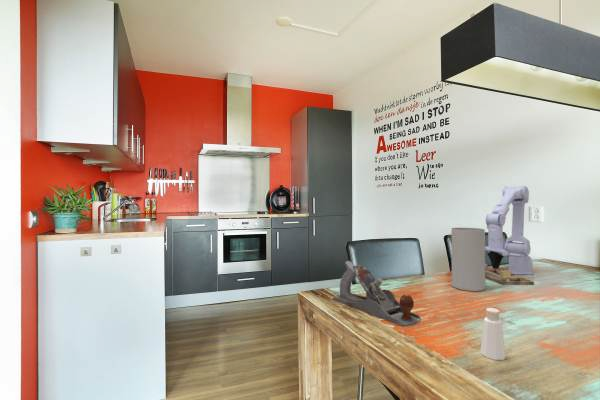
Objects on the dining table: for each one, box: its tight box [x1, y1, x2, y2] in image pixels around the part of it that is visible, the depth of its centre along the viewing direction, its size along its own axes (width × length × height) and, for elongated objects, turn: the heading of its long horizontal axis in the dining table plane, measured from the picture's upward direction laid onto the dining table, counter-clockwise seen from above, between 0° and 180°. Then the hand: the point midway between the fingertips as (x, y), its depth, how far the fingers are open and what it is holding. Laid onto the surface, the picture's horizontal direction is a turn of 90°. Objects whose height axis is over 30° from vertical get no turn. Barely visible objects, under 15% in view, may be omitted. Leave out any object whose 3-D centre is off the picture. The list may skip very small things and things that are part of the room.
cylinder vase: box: [451, 227, 486, 292], centre depth 135 cm, size 12×12×25 cm
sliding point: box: [499, 269, 524, 280], centre depth 141 cm, size 9×2×4 cm, turn 90°
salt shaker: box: [479, 307, 507, 361], centre depth 77 cm, size 5×5×11 cm
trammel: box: [485, 263, 509, 282], centre depth 150 cm, size 9×21×4 cm, turn 0°
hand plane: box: [332, 260, 422, 328], centre depth 109 cm, size 9×33×15 cm, turn 35°
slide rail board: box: [485, 270, 535, 286], centre depth 150 cm, size 14×22×1 cm, turn 0°
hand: (495, 268), depth 147 cm, fingers closed
